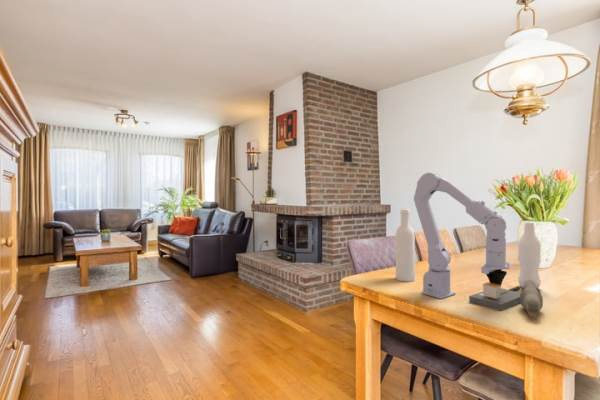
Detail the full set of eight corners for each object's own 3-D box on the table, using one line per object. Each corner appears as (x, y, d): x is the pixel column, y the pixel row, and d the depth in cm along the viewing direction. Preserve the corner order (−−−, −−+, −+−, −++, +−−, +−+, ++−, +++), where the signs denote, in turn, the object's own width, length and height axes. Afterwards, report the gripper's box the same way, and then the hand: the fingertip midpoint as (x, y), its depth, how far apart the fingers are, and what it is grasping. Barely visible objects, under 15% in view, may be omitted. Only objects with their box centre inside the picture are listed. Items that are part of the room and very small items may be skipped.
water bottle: (535, 285, 126) (536, 222, 126) (544, 290, 120) (544, 223, 119) (514, 284, 128) (515, 222, 128) (522, 289, 122) (522, 223, 121)
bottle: (396, 276, 142) (396, 208, 142) (415, 277, 140) (415, 208, 139) (395, 280, 135) (394, 209, 134) (414, 282, 132) (414, 209, 132)
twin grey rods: (518, 298, 112) (518, 295, 112) (501, 294, 116) (501, 291, 116) (533, 292, 118) (533, 289, 118) (517, 288, 123) (517, 285, 123)
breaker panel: (501, 310, 100) (501, 304, 100) (469, 301, 108) (469, 295, 108) (527, 300, 110) (527, 293, 110) (496, 292, 118) (496, 286, 118)
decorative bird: (520, 319, 94) (521, 291, 94) (519, 302, 108) (519, 278, 108) (545, 323, 91) (545, 294, 90) (540, 305, 105) (540, 280, 105)
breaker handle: (495, 298, 104) (495, 286, 104) (483, 295, 107) (483, 283, 107) (500, 297, 106) (500, 284, 106) (487, 293, 109) (487, 282, 109)
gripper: (497, 255, 100) (497, 299, 100) (519, 251, 108) (518, 291, 108) (474, 252, 106) (474, 293, 106) (496, 248, 114) (496, 286, 114)
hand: (495, 292), depth 108 cm, fingers closed
